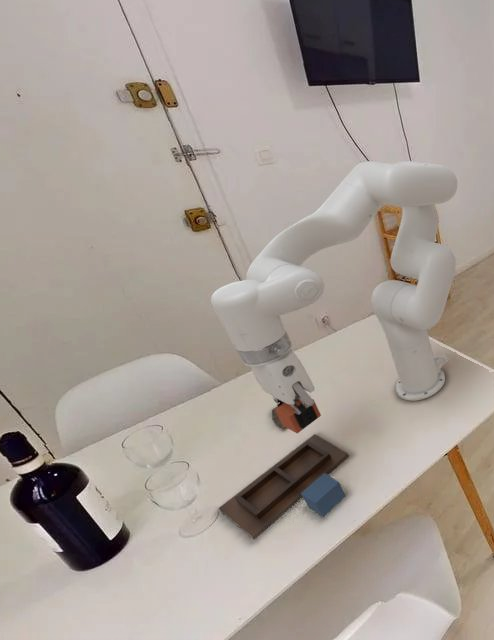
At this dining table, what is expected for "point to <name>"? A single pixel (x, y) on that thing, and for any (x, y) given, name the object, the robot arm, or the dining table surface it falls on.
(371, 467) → the dining table surface
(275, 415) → the arrowhead
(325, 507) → the blue block
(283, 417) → the orange-brown block
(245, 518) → the dark brown flat tray
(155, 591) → the dining table surface
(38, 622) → the dining table surface
